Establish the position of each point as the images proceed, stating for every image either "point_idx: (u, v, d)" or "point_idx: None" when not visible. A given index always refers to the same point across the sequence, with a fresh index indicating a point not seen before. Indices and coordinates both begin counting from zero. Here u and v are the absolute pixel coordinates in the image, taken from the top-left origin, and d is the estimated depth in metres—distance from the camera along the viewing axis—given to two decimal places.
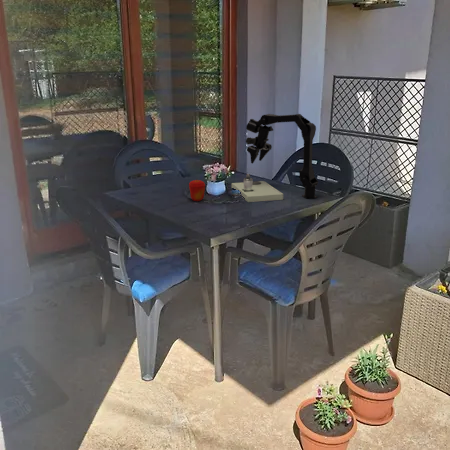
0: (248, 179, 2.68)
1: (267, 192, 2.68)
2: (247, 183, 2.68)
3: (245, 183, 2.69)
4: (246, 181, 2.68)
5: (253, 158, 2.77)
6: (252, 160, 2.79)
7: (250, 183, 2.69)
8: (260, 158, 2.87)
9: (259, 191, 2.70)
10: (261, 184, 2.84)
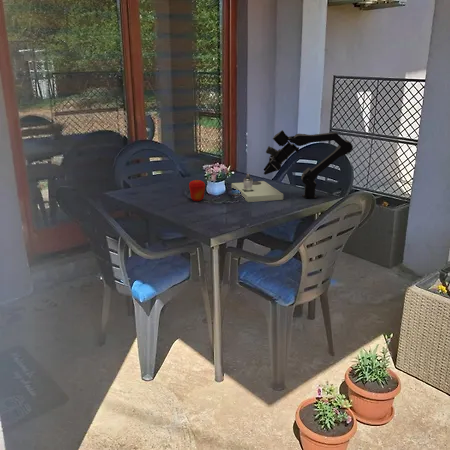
0: (248, 179, 2.68)
1: (267, 192, 2.68)
2: (247, 183, 2.68)
3: (245, 183, 2.69)
4: (246, 181, 2.68)
5: (270, 171, 2.62)
6: (267, 172, 2.63)
7: (250, 183, 2.69)
8: (266, 168, 2.72)
9: (259, 191, 2.70)
10: (261, 184, 2.84)
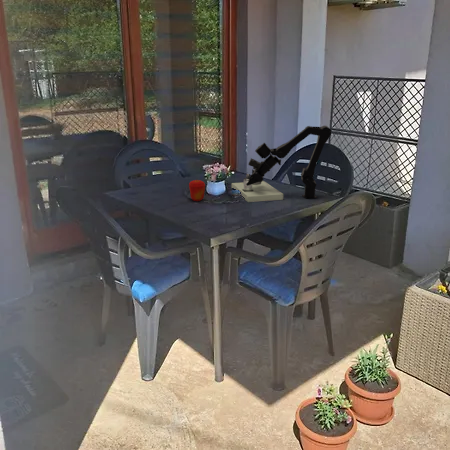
0: (248, 179, 2.68)
1: (267, 192, 2.68)
2: None
3: (245, 183, 2.69)
4: (246, 181, 2.68)
5: (252, 182, 2.67)
6: (249, 183, 2.67)
7: None
8: None
9: (259, 191, 2.70)
10: (261, 184, 2.84)
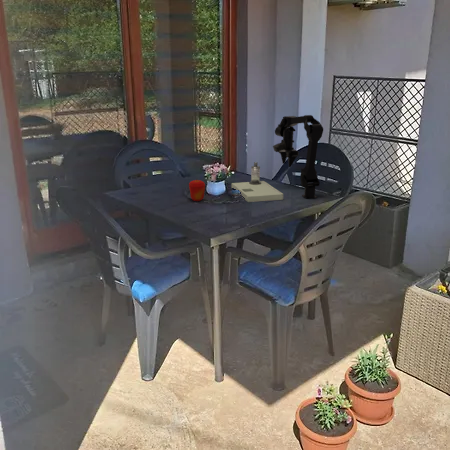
0: (254, 167, 2.82)
1: (267, 192, 2.68)
2: (253, 171, 2.83)
3: (251, 170, 2.84)
4: (252, 169, 2.83)
5: (292, 161, 2.81)
6: (291, 163, 2.82)
7: (256, 171, 2.82)
8: (284, 161, 2.91)
9: (259, 191, 2.70)
10: (261, 184, 2.84)
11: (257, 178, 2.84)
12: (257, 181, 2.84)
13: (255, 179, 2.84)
